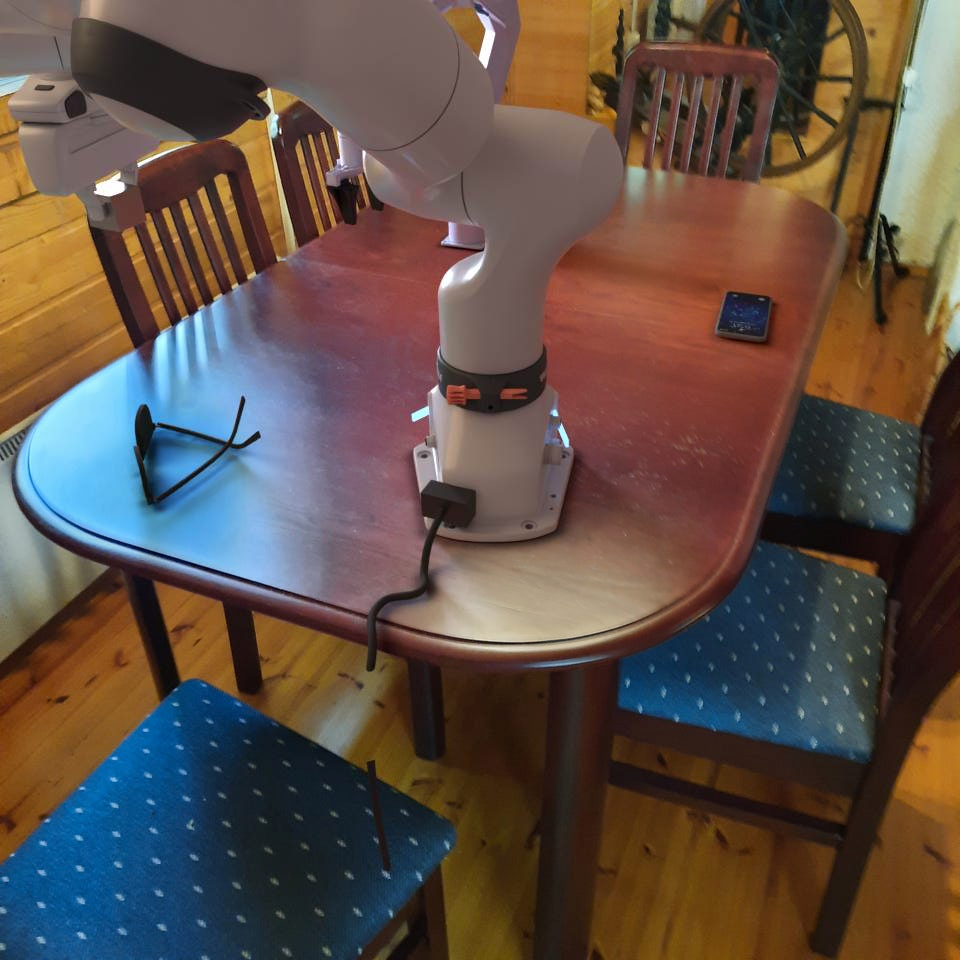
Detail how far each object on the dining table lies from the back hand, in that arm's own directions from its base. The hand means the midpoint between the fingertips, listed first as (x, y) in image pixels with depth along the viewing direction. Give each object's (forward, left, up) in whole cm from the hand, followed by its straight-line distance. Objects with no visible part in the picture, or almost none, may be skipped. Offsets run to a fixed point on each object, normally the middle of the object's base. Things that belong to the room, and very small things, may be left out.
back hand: (364, 216), depth 146 cm
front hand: (+47, -8, +16) cm, 51 cm away
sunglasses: (+62, +9, -7) cm, 63 cm away
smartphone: (+5, +65, -7) cm, 66 cm away
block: (+47, -8, +14) cm, 50 cm away
